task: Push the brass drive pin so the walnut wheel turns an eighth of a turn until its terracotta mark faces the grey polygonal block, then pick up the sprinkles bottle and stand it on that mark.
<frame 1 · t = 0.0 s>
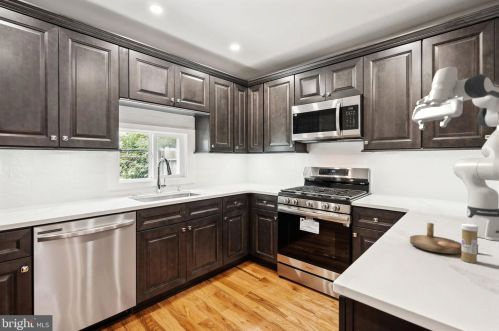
hand: (431, 128, 113), 52 cm above the countertop, tool tilted 20°, fingers open, 8 cm apart
grey polygonal block: (470, 252, 101), on the countertop
sprinkles bottle: (469, 261, 91), on the countertop
wheel: (435, 236, 105), point 5 cm above the countertop, hinge at 0.0°
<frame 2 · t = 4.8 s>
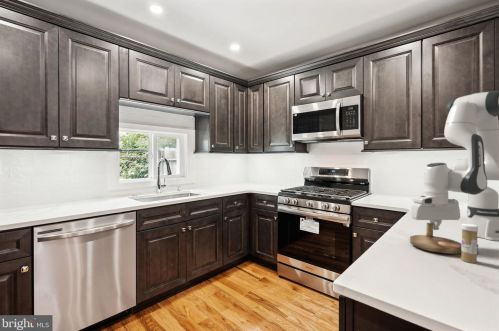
hand: (435, 229, 112), 6 cm above the countertop, tool pointing down, fingers closed
wheel: (435, 236, 105), point 5 cm above the countertop, hinge at 1.6°, touching gripper
everything else where it was.
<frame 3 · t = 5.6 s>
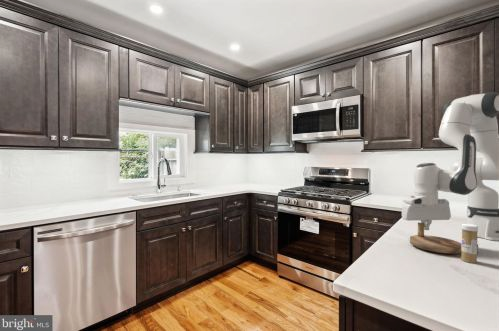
hand: (426, 229, 112), 6 cm above the countertop, tool pointing down, fingers closed
wheel: (435, 236, 105), point 5 cm above the countertop, hinge at 33.3°, touching gripper
everything else where it was.
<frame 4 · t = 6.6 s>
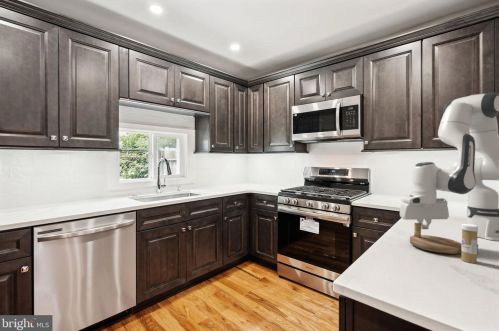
hand: (424, 229, 112), 6 cm above the countertop, tool pointing down, fingers closed
wheel: (435, 236, 105), point 5 cm above the countertop, hinge at 50.5°
everything else where it was.
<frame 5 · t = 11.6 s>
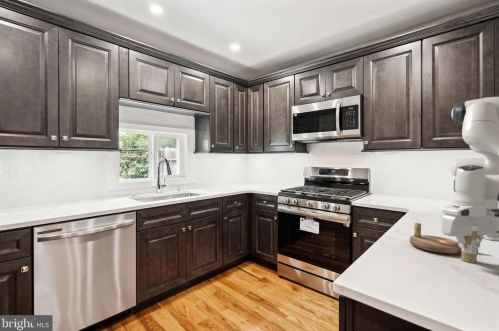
hand: (469, 247, 91), 5 cm above the countertop, tool pointing down, fingers closed on sprinkles bottle, 4 cm apart
sprinkles bottle: (469, 261, 91), on the countertop, touching gripper
everything else where it was.
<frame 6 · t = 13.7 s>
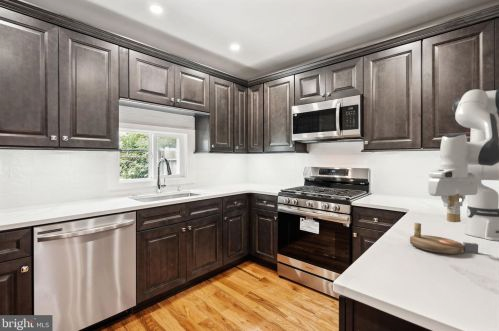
hand: (452, 206, 102), 18 cm above the countertop, tool pointing down, fingers closed on sprinkles bottle, 4 cm apart
sprinkles bottle: (453, 222, 102), point 12 cm above the countertop, touching gripper
everything else where it was.
when the fingers open (10 cm above the countertop, at t = 16.0 s): sprinkles bottle stays where it is, resting on wheel.
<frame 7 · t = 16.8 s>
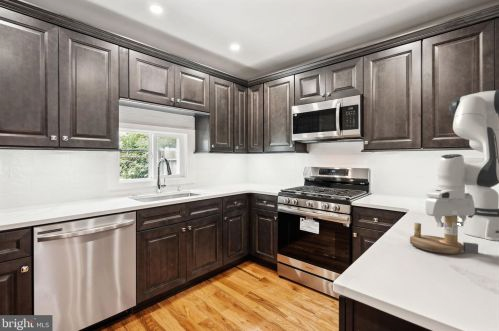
hand: (450, 226, 103), 10 cm above the countertop, tool pointing down, fingers open, 8 cm apart
sprinkles bottle: (451, 242, 103), point 3 cm above the countertop, touching wheel
wheel: (435, 236, 105), point 5 cm above the countertop, hinge at 50.5°, touching sprinkles bottle
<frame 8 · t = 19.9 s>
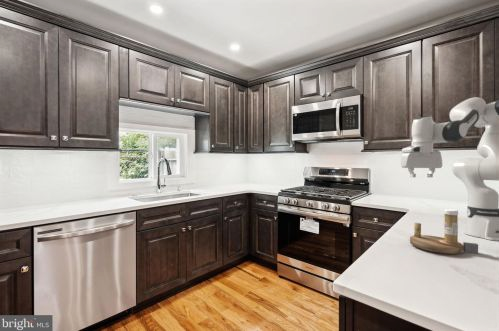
hand: (421, 177, 122), 29 cm above the countertop, tool pointing down, fingers open, 8 cm apart
nothing on the countertop moved.
at the end: wheel at +50° (first picture: +0°); sprinkles bottle 0.4 cm from the target spot, point 3.1 cm above the countertop; sprinkles bottle tilted 2° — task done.
